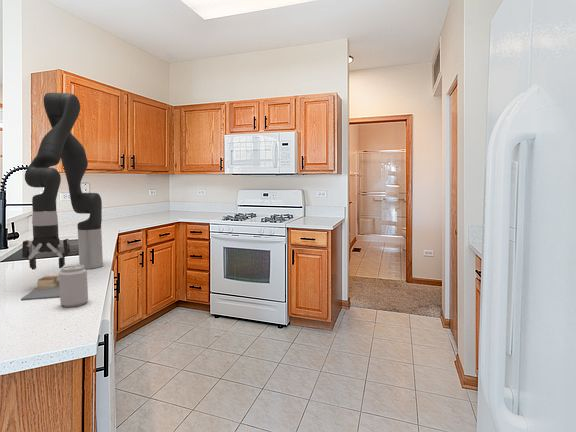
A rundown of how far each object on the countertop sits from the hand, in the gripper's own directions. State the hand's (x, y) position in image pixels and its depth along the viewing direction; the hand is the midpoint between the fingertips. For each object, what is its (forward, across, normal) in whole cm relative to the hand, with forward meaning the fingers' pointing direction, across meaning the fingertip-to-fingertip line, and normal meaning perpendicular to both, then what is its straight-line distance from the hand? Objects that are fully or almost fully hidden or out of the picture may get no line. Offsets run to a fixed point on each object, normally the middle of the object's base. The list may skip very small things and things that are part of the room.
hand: (47, 268), depth 127 cm
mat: (+7, -4, +4) cm, 9 cm away
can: (+8, -14, +22) cm, 27 cm away
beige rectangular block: (+6, 0, 0) cm, 7 cm away
